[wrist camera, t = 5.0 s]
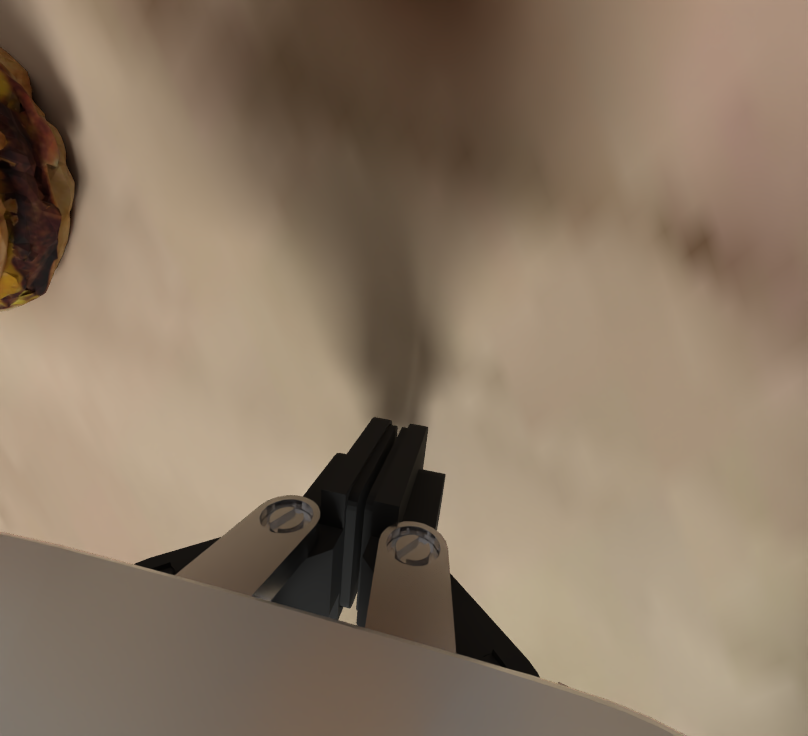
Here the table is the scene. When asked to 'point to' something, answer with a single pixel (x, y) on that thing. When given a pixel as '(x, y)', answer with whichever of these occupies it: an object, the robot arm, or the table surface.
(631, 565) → the table surface
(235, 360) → the table surface
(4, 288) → the burger
